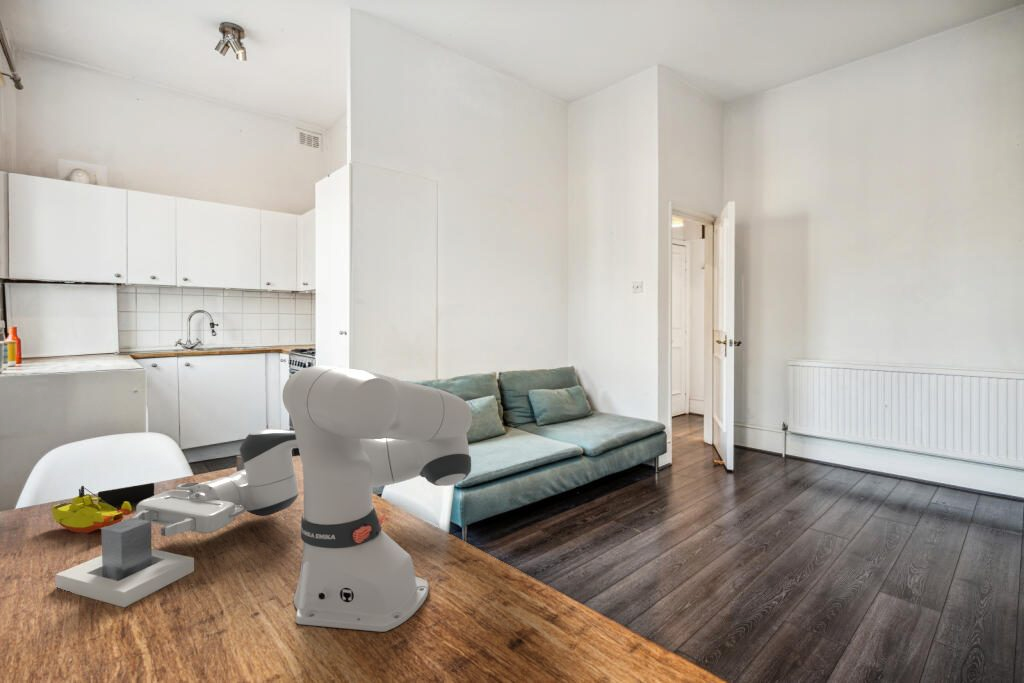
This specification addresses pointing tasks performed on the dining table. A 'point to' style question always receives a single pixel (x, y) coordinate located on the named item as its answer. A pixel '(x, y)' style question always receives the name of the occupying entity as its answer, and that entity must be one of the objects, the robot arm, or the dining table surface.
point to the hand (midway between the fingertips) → (145, 528)
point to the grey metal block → (126, 548)
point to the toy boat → (88, 513)
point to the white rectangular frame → (130, 589)
